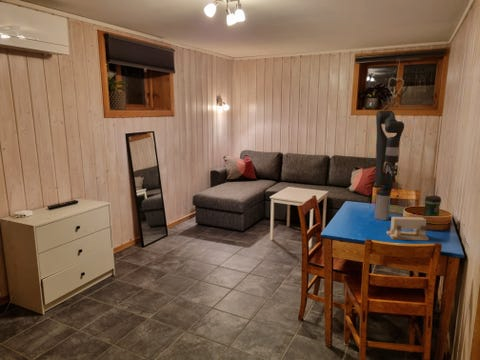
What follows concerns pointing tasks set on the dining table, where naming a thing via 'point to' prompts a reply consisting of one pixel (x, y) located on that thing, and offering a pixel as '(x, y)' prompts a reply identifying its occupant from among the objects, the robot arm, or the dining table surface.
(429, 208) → the coffee jar
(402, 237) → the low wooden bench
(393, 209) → the decorative tile
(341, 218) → the dining table surface
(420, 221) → the beige long block
